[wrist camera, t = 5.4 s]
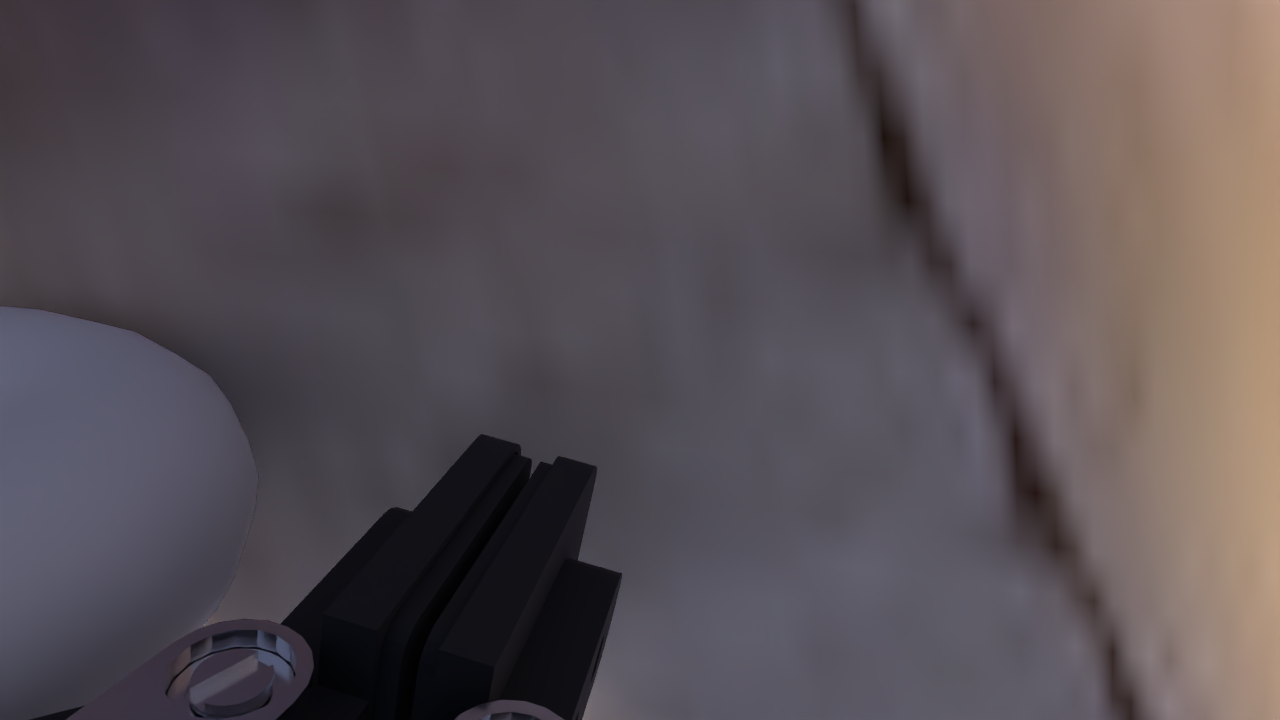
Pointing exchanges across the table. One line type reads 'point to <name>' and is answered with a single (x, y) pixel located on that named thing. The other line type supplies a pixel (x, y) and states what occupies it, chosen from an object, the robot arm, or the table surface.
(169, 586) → the donut
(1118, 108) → the table surface
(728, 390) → the table surface
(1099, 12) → the table surface
